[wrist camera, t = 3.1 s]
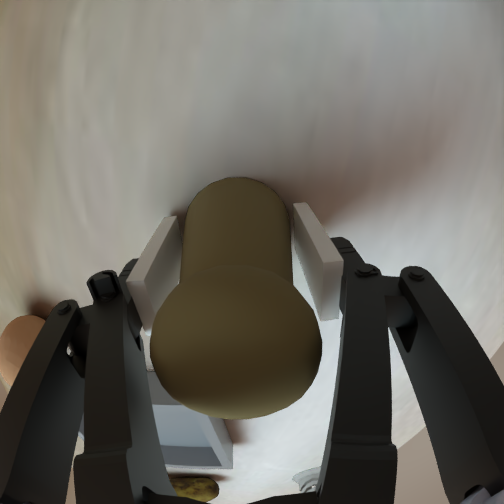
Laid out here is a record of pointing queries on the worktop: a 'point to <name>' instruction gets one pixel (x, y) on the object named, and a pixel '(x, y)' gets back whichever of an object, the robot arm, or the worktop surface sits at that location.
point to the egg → (17, 344)
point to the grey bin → (186, 433)
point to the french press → (307, 479)
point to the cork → (236, 309)
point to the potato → (196, 488)
